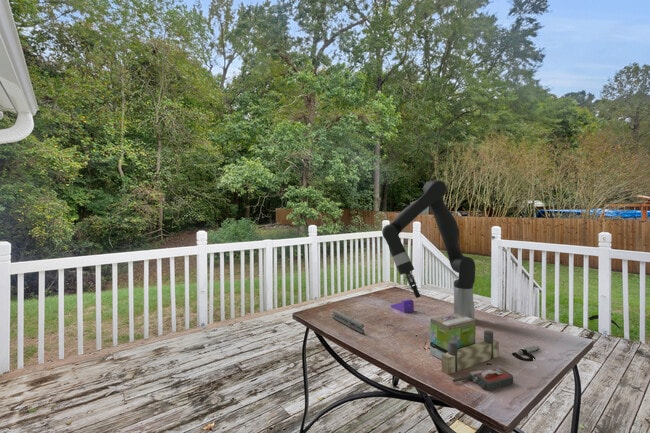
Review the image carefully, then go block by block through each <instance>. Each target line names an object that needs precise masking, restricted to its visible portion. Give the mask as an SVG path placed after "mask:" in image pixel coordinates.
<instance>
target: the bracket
mask: <svg viewBox="0 0 650 433" xmlns="http://www.w3.org/2000/svg"><path fill="white" fill-rule="evenodd" d="M414 306H415V305H414V300H413V299H412V298H411V299H410V298H407V299H402V300H401V302H398V303H397V302H396V303H393V304H391V305H390V308H392V309H394V310H396V311H399V312H402V313H404V314H405V313H410V312H414V309H415V308H414Z"/></svg>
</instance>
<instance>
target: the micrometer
mask: <svg viewBox="0 0 650 433" xmlns="http://www.w3.org/2000/svg"><path fill="white" fill-rule="evenodd" d="M537 349H538V350H540V346H538V345H532V346H527V347H521V349H518V351H515V352H512V353H511V355H512V356H514V357H515V358H517V359H518V360H520V361H523V362H529V361H530V362H534V361H533V358H534V359H535V360H536V357H535V356H534V354H531V353H534V352H537V351H538V350H537ZM536 350H537V351H536ZM533 351H534V352H533ZM520 354H521V355H524V356H527V357H528V358H527V357H523V356H521V355H520Z"/></svg>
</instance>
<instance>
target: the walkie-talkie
mask: <svg viewBox="0 0 650 433" xmlns="http://www.w3.org/2000/svg"><path fill="white" fill-rule="evenodd" d="M465 380H472V382H473V383H476V384H477V385H479V386H480V388H482V389H485V390H486V391H489V392H490V391H494V390H498V389H501V388H505V387H509V386H513V385H514V375H513V374H511V372H508V371H507V370H504V369H503V368H495V369H491V368H489V369H487V370H481V369H480V370H475V371H469V374H467V375H464V376H461V377H456V378H453V379H452V382H453V383H457V382H458V383H459V382H461V381H465Z"/></svg>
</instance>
